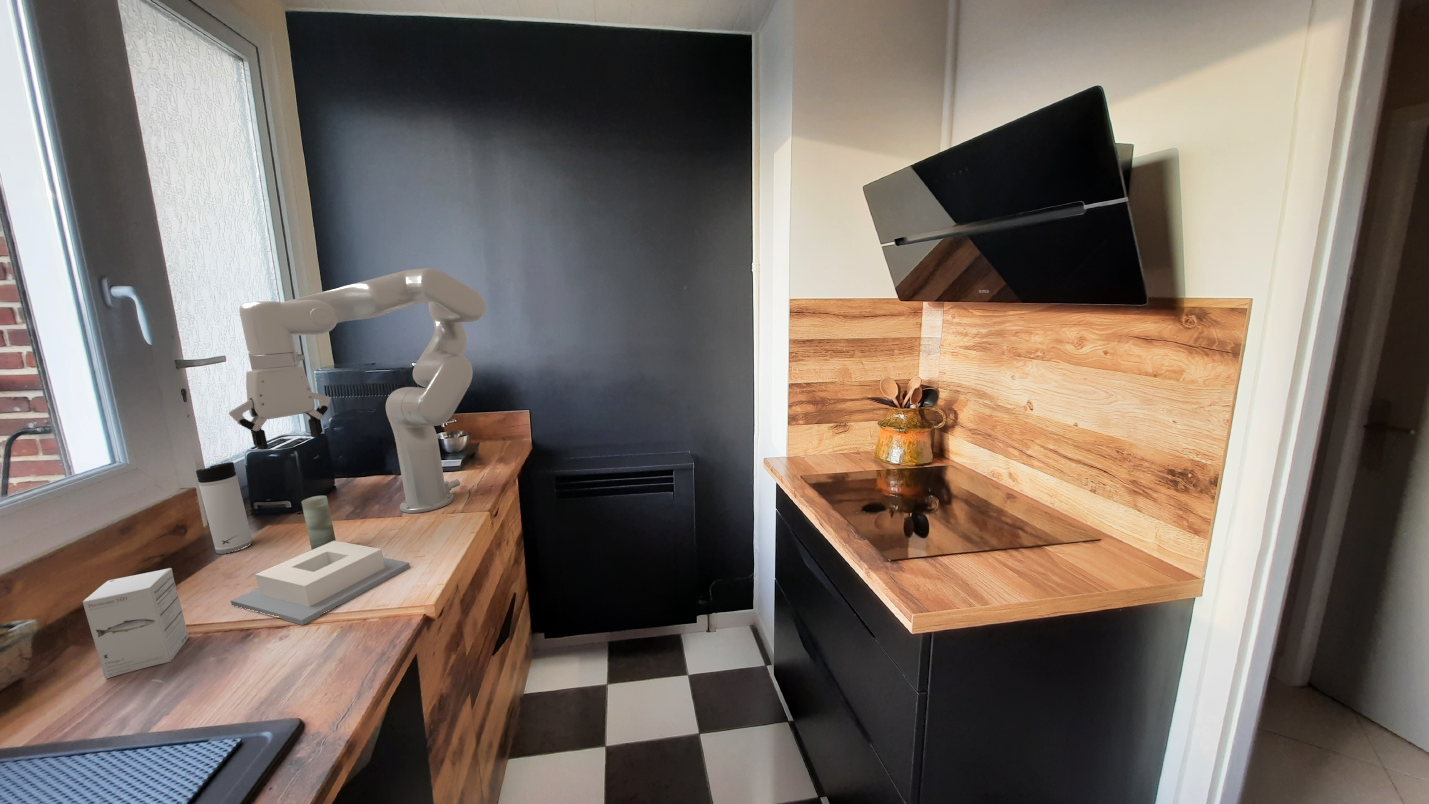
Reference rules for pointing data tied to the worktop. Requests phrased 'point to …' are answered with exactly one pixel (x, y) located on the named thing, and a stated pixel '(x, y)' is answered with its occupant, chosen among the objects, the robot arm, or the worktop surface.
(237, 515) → the travel mug
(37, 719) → the worktop surface
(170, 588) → the supplement box
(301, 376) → the robot arm
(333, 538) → the peg
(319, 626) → the worktop surface
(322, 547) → the socket block
